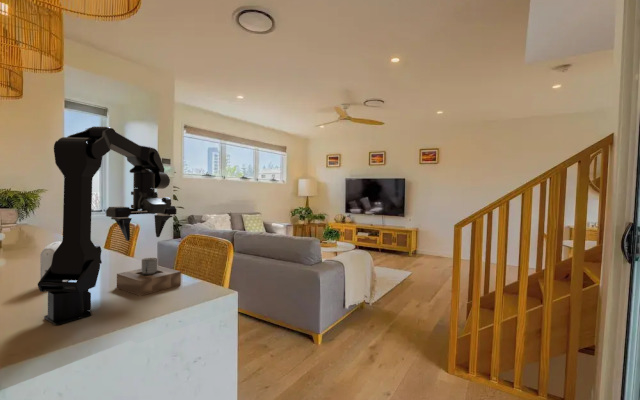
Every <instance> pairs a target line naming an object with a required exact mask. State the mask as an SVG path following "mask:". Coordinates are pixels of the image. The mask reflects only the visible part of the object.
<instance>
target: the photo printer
mask: <svg viewBox="0 0 640 400" xmlns="http://www.w3.org/2000/svg"><path fill="white" fill-rule="evenodd" d="M61 243H62V240H61V241H53V242H51V243H49V244H47V245H46V246H45V247H44V248H43V249H42V250H41V252H40V256H39V257H40V263H39V264H40V269H39V270H40V276H39V277H40V278H39V279H40V280H41V278H42V277H43V276H44V274H45V273H46V272H47V270H48V269H49V268H50V266H51V264H52V258H53V254H54V252H55V251H56V249H57V248H58V247H59V245H60V244H61ZM40 280H39V281H40ZM62 282H69V280H63V281H62Z"/></svg>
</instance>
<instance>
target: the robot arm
mask: <svg viewBox="0 0 640 400" xmlns="http://www.w3.org/2000/svg"><path fill="white" fill-rule="evenodd" d="M110 151H113V152H115V153H117V154H118V155H122V156H124V157H125V158H126V160H127V162H128V163H130V164H131V165H132V168H131V169H130V170H129V174H133V185H132V186H133V189H132V191H130V195H131V196H133V197H132V199H133V201H132V202H133V203H132V204H130V206H108V207H107V209H106V210H105V211H106V212H105V213H106V214H105V217H107V218H110V219H111V220H114V221H115V222H116V224H117V225H118V227H119V229H120V230H121V233H122V235H123V237H124V239H125V240H126V241H127V242H129V241H130V239H131V232H130V231H131V229H130V228H131V227H130V224H131V222H132V219H133V218H132V217H130V216H131V215H145V214H146V215H148V214H149V215H150V214H151V215H154V228H155V229H154V230H155V237H156V238H160V236H161V234H162V233H163V232H162V231H163V229H164V227H165V225H166V223H167V221H168V220H169V219H170V218H173V216H174V215H177V214H178V213H177V208H176V206H175V205H172V198H170V197H169V196H168V197H167V196H164V197H162V198H159V197H158V196H159V195H158V194H159V193H158V192H157V191H156V189H157V190H158V189H159V190H160V189H161V190H163V189H166V188H167V187H169V185H170V182H171V178H170V177H169V175H168V174H167V173H166V172H165V167H164V164H163V161H162V159H161V155H160V153H159V151H158V150H157V149H156V148H155V147H151V146H146V145H142V144H138V143H136V142H134V141H133V140H131V139H129V138H127V137H125V136H124V135H122V134H120V133H119V132H117V131H116V130H115V129H114V128H112V127H110V126H91V127H88V128H87V129H85V130H83V131H79V132H76V133H73V134H70V135H67V136H66V137H65V136H63V137H60V138H59V139H58V140H56V141H55V142H54V144H53V154H54V161H55V162H54V163H55V166H56V167H57V168H58V169H59V171H60V173H61V174H62V175H63V204H62V205H63V206H62V207H63V211H62V214H63V215H62V240H61V241H62V243H61V244H60V245H59V247H58V248H57V249H56V251H55V252H54V254H53V258H52V264H51V266H50V268H49V269H48V270H47V272H46V273H45V274H44V276H43V277H42V278H41V280H39V281H38V282H37V287H38V289H39V292H40V293H44V292H47V314H46V315H44V316H43V318H44V319H45V320H46V321H48V322H50V323H51V324H53V325H55V326H59V325H63V324H66V323H69V322H72V321H75V320H79V319H83V318H87V317H89V316H92V315H93V313H92V312H91V308H92V300H91V299H92V293H91V292H90V291H89V290H90V289H93V288H95V287H96V286H97V285H96V284H97V281H98V277H99V273H100V268H101V264H102V252H103V251H102V248H101V246H100V245H95V244H94V242H93V241H92V207H93V205H92V204H93V203H92V200H93V178H94V176H95V175H96V174H97V173H98V172H99V169H100V168H101V167H102V161H103V157H104V156H105V155H106V154H108V153H109V152H110ZM155 191H156V192H155ZM63 280H68V281H66V282H62V281H63Z"/></svg>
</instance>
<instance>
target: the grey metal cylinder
mask: <svg viewBox="0 0 640 400" xmlns="http://www.w3.org/2000/svg"><path fill="white" fill-rule="evenodd" d="M157 266H158V258H157V257H145V258H142V259H141V269H142V275H143V276H149V275H154V274H157Z"/></svg>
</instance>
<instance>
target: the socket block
mask: <svg viewBox="0 0 640 400" xmlns="http://www.w3.org/2000/svg"><path fill="white" fill-rule="evenodd" d="M181 280H182V271H180V270H176V269H172V268H168V267H165V266H161V265H157V274H154V275H149V276H143V275H142V268H140V269H134V270H129V271H123V272H120V273H116V288H117V289H119V290H123V291H125V292H127V293H131V294H134V295H137V296H139V297H141V296H145V295H149V294H151V293H152V294H153V293H155V292H159V291H163V290H166V289H170V288H174V287H176V286H177V287H178V286H181V285H182V283H181V282H182V281H181Z"/></svg>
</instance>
